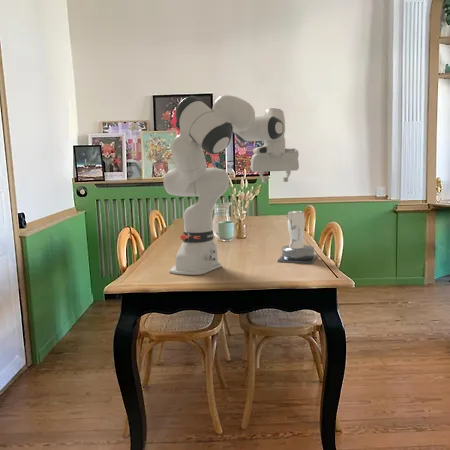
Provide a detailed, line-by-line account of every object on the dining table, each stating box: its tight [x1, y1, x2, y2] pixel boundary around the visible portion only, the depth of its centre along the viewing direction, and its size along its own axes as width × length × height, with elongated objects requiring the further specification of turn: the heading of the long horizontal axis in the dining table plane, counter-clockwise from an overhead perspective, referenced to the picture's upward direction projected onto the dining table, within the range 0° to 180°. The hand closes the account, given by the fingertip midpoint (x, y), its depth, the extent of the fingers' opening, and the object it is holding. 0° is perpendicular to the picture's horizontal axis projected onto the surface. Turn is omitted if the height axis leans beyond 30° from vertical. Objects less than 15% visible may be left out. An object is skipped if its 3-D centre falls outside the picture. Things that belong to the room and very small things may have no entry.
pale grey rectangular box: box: [287, 210, 306, 249], centre depth 200 cm, size 7×7×15 cm
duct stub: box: [277, 244, 319, 265], centre depth 201 cm, size 14×14×5 cm
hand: (275, 182), depth 204 cm, fingers open, 8 cm apart
